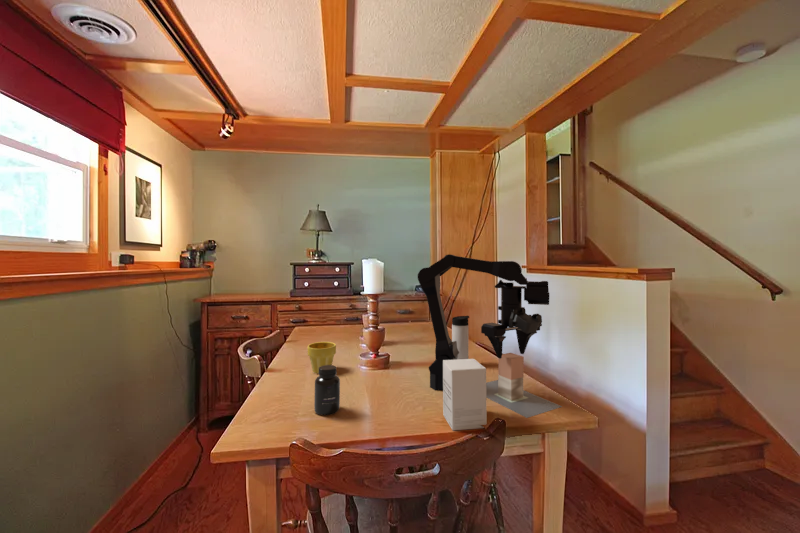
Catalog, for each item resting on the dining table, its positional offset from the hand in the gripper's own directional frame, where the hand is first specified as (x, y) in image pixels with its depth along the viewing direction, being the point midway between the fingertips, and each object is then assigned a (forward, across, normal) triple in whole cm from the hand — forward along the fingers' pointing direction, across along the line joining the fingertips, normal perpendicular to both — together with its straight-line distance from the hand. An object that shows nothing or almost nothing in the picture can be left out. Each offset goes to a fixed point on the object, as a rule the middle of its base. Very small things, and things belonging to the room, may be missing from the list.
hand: (511, 355), depth 101 cm
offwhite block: (+12, 0, 0) cm, 12 cm away
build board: (+13, 0, 0) cm, 13 cm away
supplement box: (+13, -21, -4) cm, 25 cm away
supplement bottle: (+13, -50, +19) cm, 55 cm away
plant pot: (+13, -42, +53) cm, 69 cm away
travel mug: (+13, +6, +31) cm, 34 cm away
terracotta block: (+6, 0, 0) cm, 6 cm away
